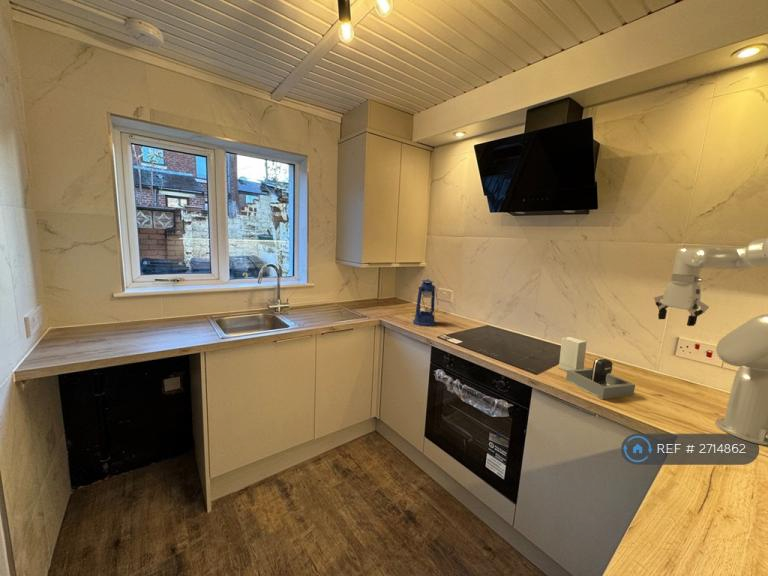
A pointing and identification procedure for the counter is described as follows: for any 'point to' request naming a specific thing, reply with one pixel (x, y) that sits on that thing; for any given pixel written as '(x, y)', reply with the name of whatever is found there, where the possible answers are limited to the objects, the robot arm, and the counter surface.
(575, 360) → the skincare box
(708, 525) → the counter surface
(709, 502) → the counter surface
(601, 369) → the dark piece
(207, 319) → the counter surface
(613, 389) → the bin
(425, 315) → the lantern
